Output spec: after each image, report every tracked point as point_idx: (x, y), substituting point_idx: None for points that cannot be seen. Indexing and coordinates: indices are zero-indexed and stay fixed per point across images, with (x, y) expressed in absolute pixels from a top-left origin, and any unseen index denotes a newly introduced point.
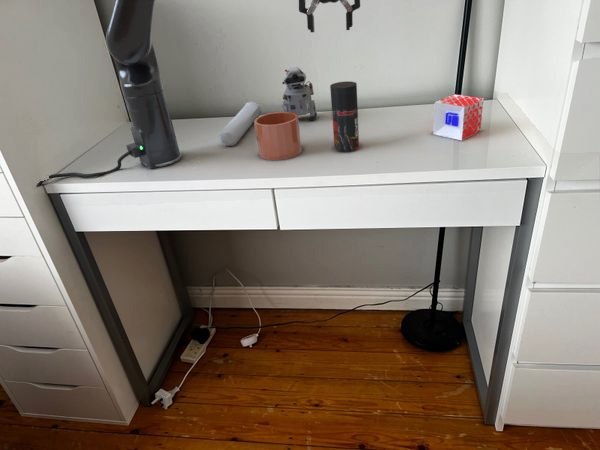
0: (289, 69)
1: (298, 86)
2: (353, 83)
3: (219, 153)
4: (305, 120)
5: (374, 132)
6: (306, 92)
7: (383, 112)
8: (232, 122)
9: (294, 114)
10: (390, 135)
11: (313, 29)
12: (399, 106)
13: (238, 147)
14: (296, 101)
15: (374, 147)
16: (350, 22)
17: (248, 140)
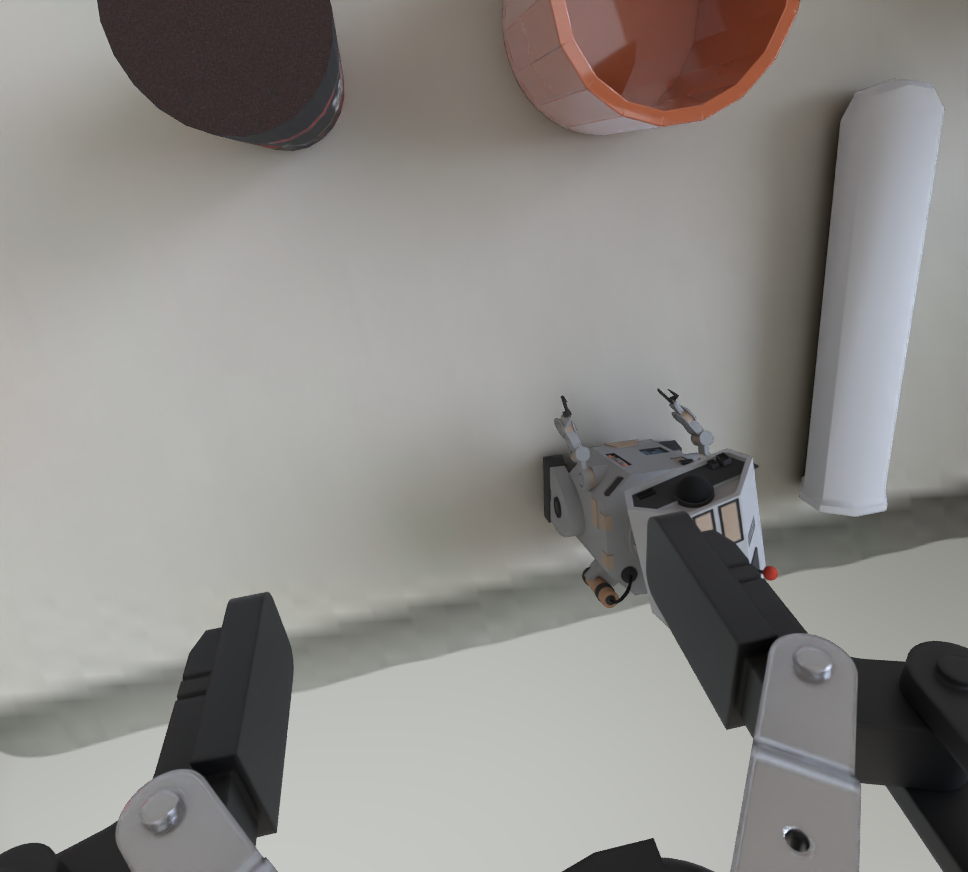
0: None
1: None
2: (138, 46)
3: (892, 9)
4: None
5: (206, 314)
6: (607, 502)
7: (249, 582)
8: (911, 218)
9: (582, 55)
10: (109, 272)
11: (658, 543)
12: None
13: (817, 96)
14: (644, 461)
15: (134, 89)
16: (205, 670)
17: (788, 195)
